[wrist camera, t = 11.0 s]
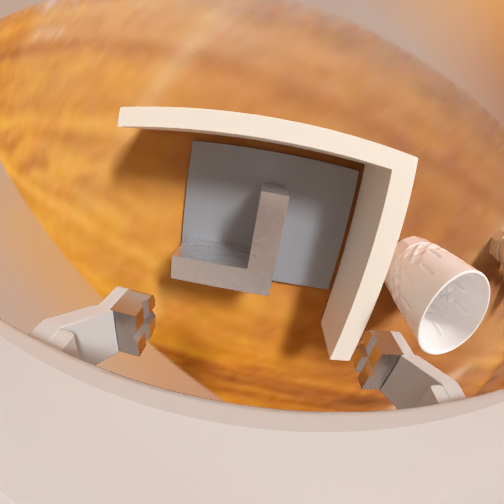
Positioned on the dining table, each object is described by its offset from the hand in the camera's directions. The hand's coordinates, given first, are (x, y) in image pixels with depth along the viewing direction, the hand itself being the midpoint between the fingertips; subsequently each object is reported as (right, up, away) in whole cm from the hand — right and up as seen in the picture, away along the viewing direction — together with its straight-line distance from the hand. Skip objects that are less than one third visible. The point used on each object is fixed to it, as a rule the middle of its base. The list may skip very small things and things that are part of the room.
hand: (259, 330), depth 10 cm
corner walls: (0, +5, +15) cm, 16 cm away
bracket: (-1, +5, +15) cm, 16 cm away
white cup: (+16, +1, +16) cm, 23 cm away
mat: (+1, +6, +15) cm, 16 cm away
